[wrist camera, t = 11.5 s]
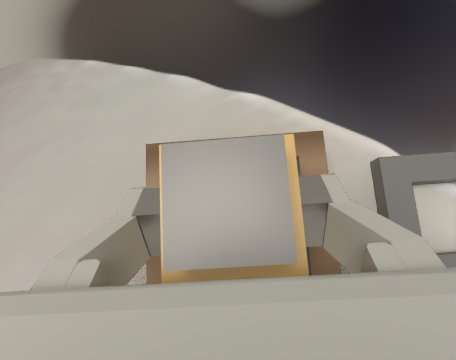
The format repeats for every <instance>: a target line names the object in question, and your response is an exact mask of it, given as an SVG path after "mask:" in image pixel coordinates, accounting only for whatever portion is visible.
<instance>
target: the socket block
mask: <svg viewBox="0 0 456 360" xmlns="http://www.w3.org/2000/svg"><path fill="white" fill-rule="evenodd" d="M286 134H294V141H295V151H296V160H297V169H298V177H302V176H313V175H321V174H328V168H327V160H326V152H325V144H324V136H323V131H312V132H299V133H286ZM273 135H280V134H273ZM284 135H285V134H284ZM260 136H268V135H260ZM247 137H255V136H247ZM234 138H243V137H234ZM221 139H231V138H221ZM208 140H219V139H208ZM195 141H207V140H195ZM182 142H194V141H182ZM182 142H169V143H156V144H146V187H159V186H160V174H159V145H161V144H170V143H182ZM306 252H307V261H308V270H309V275H327V274H341V269H340V263H339V262H338V261H337V260H336V259H335V258H334V257H333V256H332V255H331V254H330V253H328V252H327V251H326V250H325V249H324V248H323V246H316V247H306ZM160 283H161V256H151V257H150V259H149V260H148V261H147V284H160Z"/></svg>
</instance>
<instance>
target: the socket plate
mask: <svg viewBox="0 0 456 360" xmlns="http://www.w3.org/2000/svg"><path fill="white" fill-rule="evenodd" d="M370 165H371V171H372V178H373V184H374V190H375V197H376V203H377V209H378V214H380V215H382V216H383V217H385V218H387V219H389V220H391V221H393V222H394V223H396V224H398V225H400V226H402V227H404V228H406V229H407V230H409V231H411V232H413V233H415V234H417V235H419V236H420V237H422V236H421V230H420V225H419V219H418V214H417V209H416V203H415V198H414V192H413V187H412V185H419V184H434V183H449V182H456V152H447V153H434V154H419V155H406V156H391V157H379V158H377V159H376V160H374V161H372V162H371V163H370ZM436 254H437V256H438V257H439V258H440V260H441V261H442V262H443V264H444V265H445V266H446V268H455V267H456V252H449V253H436Z"/></svg>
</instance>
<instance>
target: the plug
mask: <svg viewBox="0 0 456 360" xmlns="http://www.w3.org/2000/svg"><path fill="white" fill-rule="evenodd" d="M159 174H160V230H161V283H179V282H197V281H215V280H233V279H251V278H269V277H288V276H308V275H309V270H308V261H307V252H306V243H305V233H304V224H303V215H302V206H301V197H300V187H299V178H298V169H297V160H296V151H295V141H294V134H285V135H284V134H280V135H268V136H255V137H243V138H231V139H219V140H207V141H194V142H182V143H170V144H161V145H159Z"/></svg>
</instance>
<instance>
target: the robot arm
mask: <svg viewBox="0 0 456 360" xmlns="http://www.w3.org/2000/svg"><path fill="white" fill-rule="evenodd" d="M298 178H299V187H300V197H301V206H302V215H303V224H304V233H305V243H306V247H316V246H323V248H324V249H325V250H326V251H327V252H328V253H330V254H331V255H332V256H333V257H334V258H335V259H336V260H337V261H338V262H339V263H340V264H341V265H342V266H344V267H345V268H346V269H347V270H348V271H349V272H350V273H346V274H327V275H308V276H288V277H269V278H251V279H233V280H215V281H197V282H179V283H160V284H142V285H127V284H128V282H129V281H130V280H131V279H132V278H133V277H134V276H135V275H136V273H137V272H138V271H139V270H140V269H141V268H142V267H143V266H144V264H145V263H146V262H147V261H148V260H149V259H150V257H151V256H161V230H160V186H159V187H140V188H131V189H129V191H128V193H127V195H126V197H125V199H124V201H123V203H122V205H121V207H120V209H119V211H118V213H117V215H116V217H115V218H110V219H109V220H107V221H106V222H104V223H103V224H102V225H100V226H99V227H97V228H96V229H94V230H93V231H91V232H90V233H89V234H87V235H86V236H84V237H83V238H81V239H80V240H78V241H77V242H75V243H74V244H73V245H71V246H70V247H68V248H67V249H65V250H64V251H62V252H61V253H60V254H58V255H57V256H55V257H54V258H52V259H51V260H49V262H48V263H47V265H46V266H45V268H44V269H43V271H42V272H41V274H40V276H39V277H38V279H37V280H36V282H35V283H34V285H33V286H32V288H31V289H30V291H11V292H0V360H456V267H455V268H446V266H445V265H444V264H443V262H442V261H441V260H440V258H439V257H438V256H437V254H436V253H435V252H434V250H433V249H432V248H431V246H430V245H429V244H428V242H427V241H426V240H425V239H424V238H422V237H420V236H419V235H417V234H415V233H413V232H411V231H409V230H407V229H406V228H404V227H402V226H400V225H398V224H396V223H394V222H393V221H391V220H389V219H387V218H385V217H383V216H382V215H380V214H378V213H376V212H374V211H372V210H370V209H369V208H367V207H365V206H363V205H361V204H359V203H357V202H356V201H352V202H351V201H350V199H349V197H348V196H347V194H346V192H345V190H344V188H343V187H342V185H341V183H340V181H339V179H338V178H337V176H336V174H334V173H330V174H321V175H313V176H302V177H298Z"/></svg>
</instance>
